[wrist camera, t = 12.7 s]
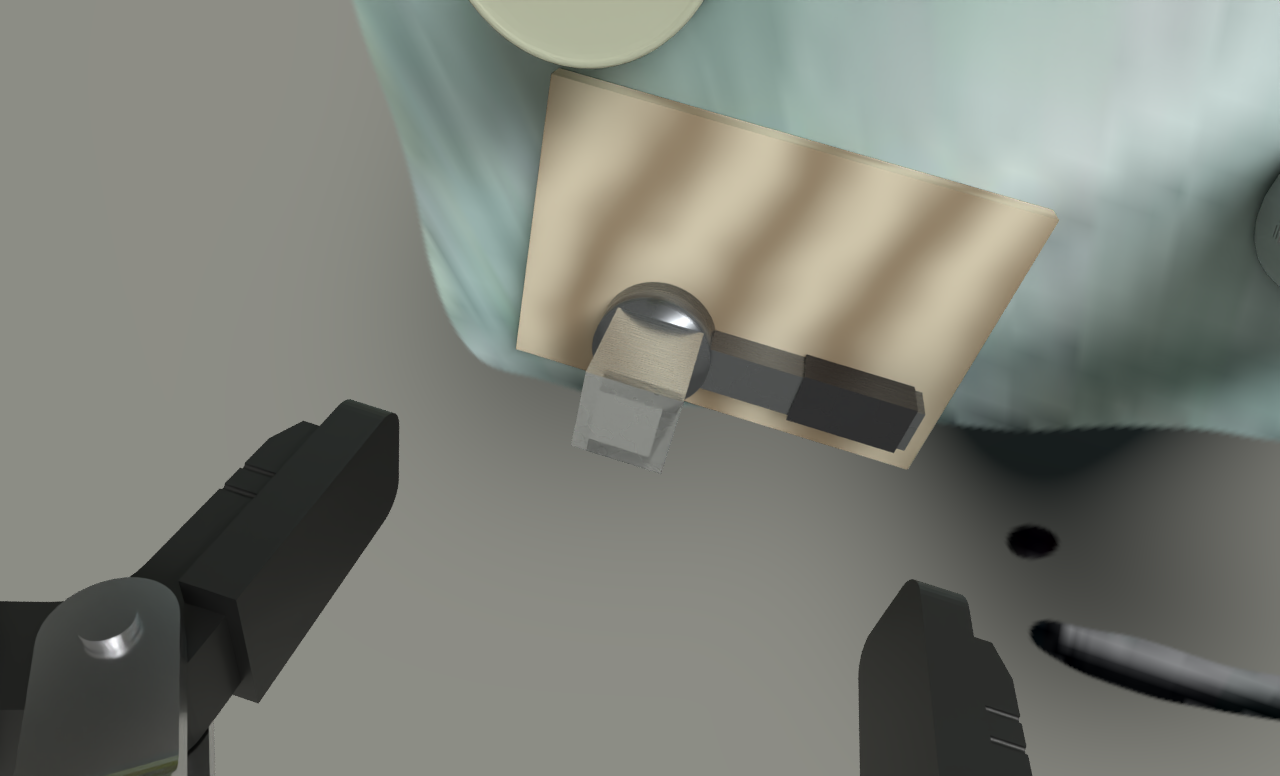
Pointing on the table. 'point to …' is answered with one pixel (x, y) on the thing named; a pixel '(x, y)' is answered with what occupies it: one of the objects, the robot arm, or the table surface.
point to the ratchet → (781, 375)
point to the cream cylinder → (587, 27)
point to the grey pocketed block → (636, 389)
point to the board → (767, 245)
